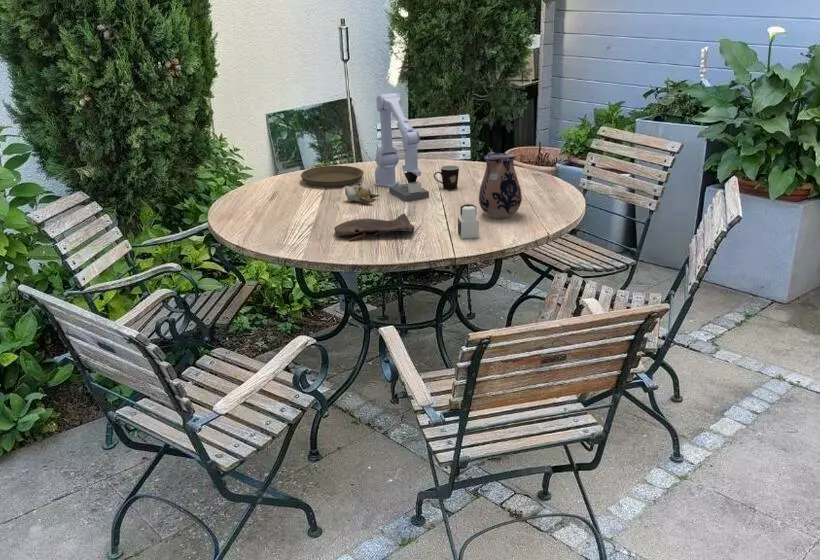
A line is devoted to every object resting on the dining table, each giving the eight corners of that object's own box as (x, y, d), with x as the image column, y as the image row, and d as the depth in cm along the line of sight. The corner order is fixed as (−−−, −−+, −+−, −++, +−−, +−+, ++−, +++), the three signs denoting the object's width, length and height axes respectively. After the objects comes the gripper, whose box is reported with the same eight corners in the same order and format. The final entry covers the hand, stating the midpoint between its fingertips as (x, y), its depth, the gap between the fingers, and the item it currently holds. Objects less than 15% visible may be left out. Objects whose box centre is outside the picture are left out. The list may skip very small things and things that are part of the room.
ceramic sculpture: (348, 179, 326) (380, 182, 323) (348, 197, 330) (380, 200, 327) (340, 185, 317) (373, 188, 314) (341, 204, 320) (373, 207, 317)
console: (389, 193, 335) (388, 186, 334) (412, 189, 340) (411, 182, 339) (405, 201, 321) (405, 195, 320) (429, 197, 326) (428, 191, 324)
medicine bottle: (457, 233, 280) (457, 203, 275) (475, 232, 281) (476, 202, 276) (460, 239, 274) (460, 208, 269) (479, 238, 274) (479, 207, 269)
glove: (333, 243, 274) (332, 231, 272) (335, 226, 293) (334, 214, 291) (416, 239, 275) (415, 227, 274) (412, 223, 294) (412, 211, 292)
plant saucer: (376, 177, 362) (375, 168, 360) (338, 193, 338) (337, 183, 336) (327, 171, 378) (327, 162, 376) (288, 185, 354) (287, 176, 352)
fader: (408, 191, 324) (408, 182, 322) (418, 189, 326) (417, 181, 325) (411, 193, 322) (411, 184, 320) (421, 191, 324) (421, 182, 322)
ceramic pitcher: (494, 224, 288) (495, 163, 278) (466, 211, 305) (466, 153, 296) (529, 217, 295) (532, 157, 286) (500, 204, 313) (501, 147, 303)
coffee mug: (459, 185, 342) (459, 165, 339) (458, 190, 335) (458, 169, 331) (435, 186, 344) (434, 165, 340) (434, 191, 336) (433, 170, 332)
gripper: (396, 156, 325) (397, 185, 330) (410, 163, 313) (411, 193, 318) (409, 154, 328) (410, 183, 333) (424, 160, 316) (425, 190, 321)
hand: (411, 188), depth 326 cm, fingers closed
